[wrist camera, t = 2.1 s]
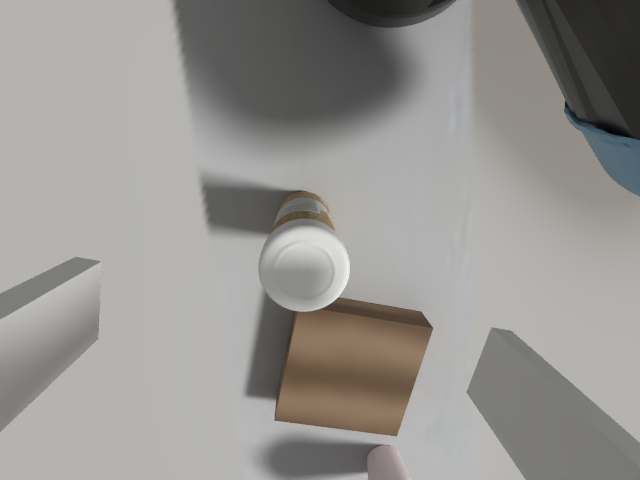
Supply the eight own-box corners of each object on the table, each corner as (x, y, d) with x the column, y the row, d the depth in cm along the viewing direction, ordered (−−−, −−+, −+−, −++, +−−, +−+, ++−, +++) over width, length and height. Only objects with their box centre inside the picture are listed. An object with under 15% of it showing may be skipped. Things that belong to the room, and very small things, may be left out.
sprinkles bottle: (330, 239, 30) (352, 311, 17) (279, 243, 30) (262, 318, 17) (328, 188, 28) (350, 223, 15) (274, 191, 28) (251, 230, 15)
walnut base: (299, 290, 31) (299, 305, 28) (421, 311, 32) (432, 328, 29) (276, 397, 34) (274, 420, 31) (388, 412, 35) (396, 436, 32)
